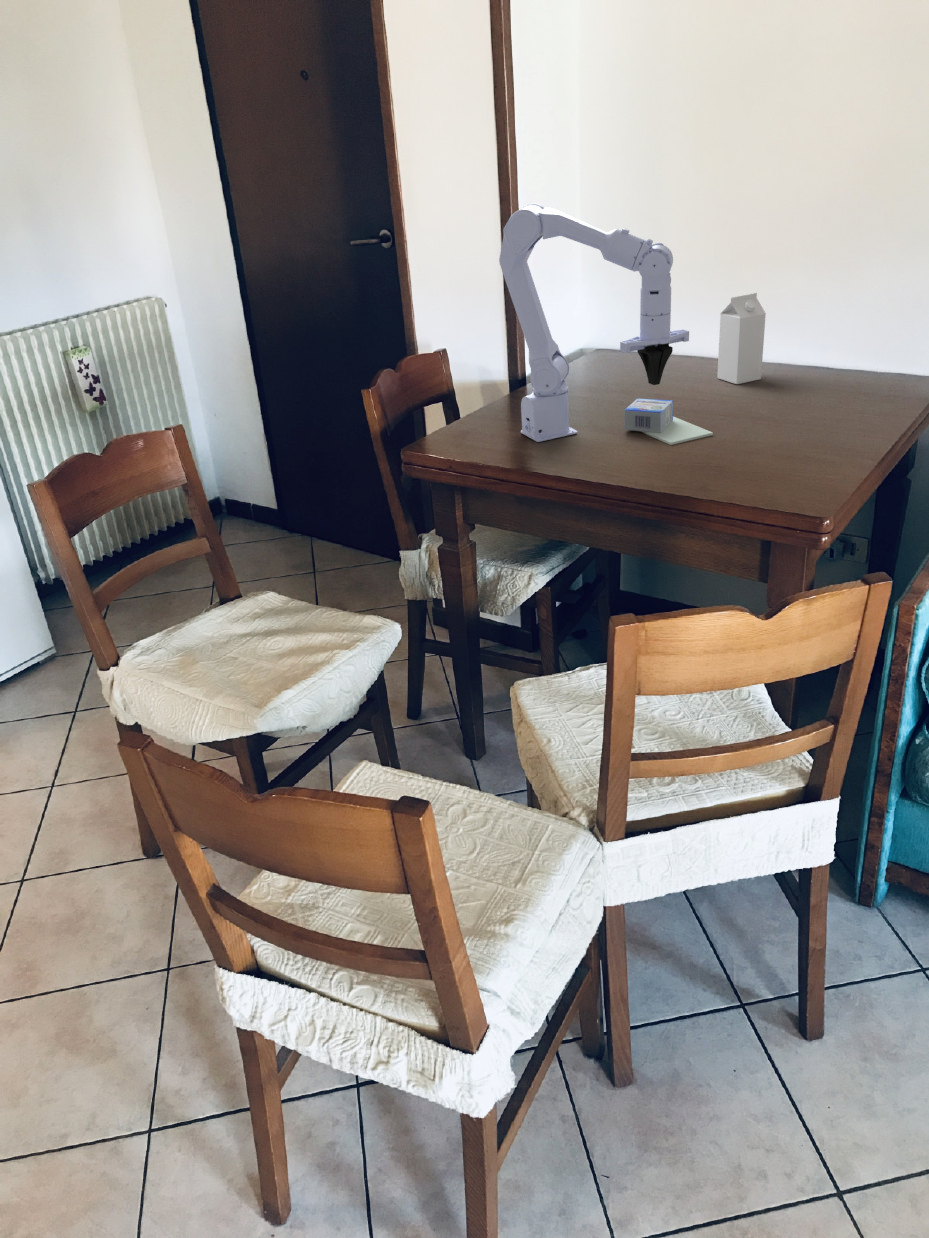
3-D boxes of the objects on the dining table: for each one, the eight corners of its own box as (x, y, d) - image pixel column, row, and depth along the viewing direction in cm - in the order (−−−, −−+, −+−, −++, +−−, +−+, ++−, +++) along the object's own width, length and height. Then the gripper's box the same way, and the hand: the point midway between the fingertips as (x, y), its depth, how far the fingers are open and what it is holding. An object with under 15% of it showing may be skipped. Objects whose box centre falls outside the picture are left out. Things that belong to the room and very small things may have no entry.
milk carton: (716, 379, 225) (721, 295, 216) (741, 373, 227) (746, 291, 218) (736, 385, 219) (741, 299, 210) (761, 379, 221) (767, 295, 212)
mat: (670, 445, 187) (670, 442, 187) (629, 426, 199) (629, 423, 199) (712, 435, 190) (713, 432, 190) (669, 417, 202) (669, 414, 202)
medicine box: (623, 410, 193) (636, 397, 200) (623, 431, 195) (636, 418, 202) (661, 412, 190) (673, 399, 196) (661, 434, 192) (673, 420, 199)
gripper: (634, 322, 176) (633, 394, 183) (699, 310, 181) (696, 381, 187) (614, 316, 182) (614, 386, 189) (677, 305, 187) (675, 374, 193)
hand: (654, 383), depth 188 cm, fingers closed
